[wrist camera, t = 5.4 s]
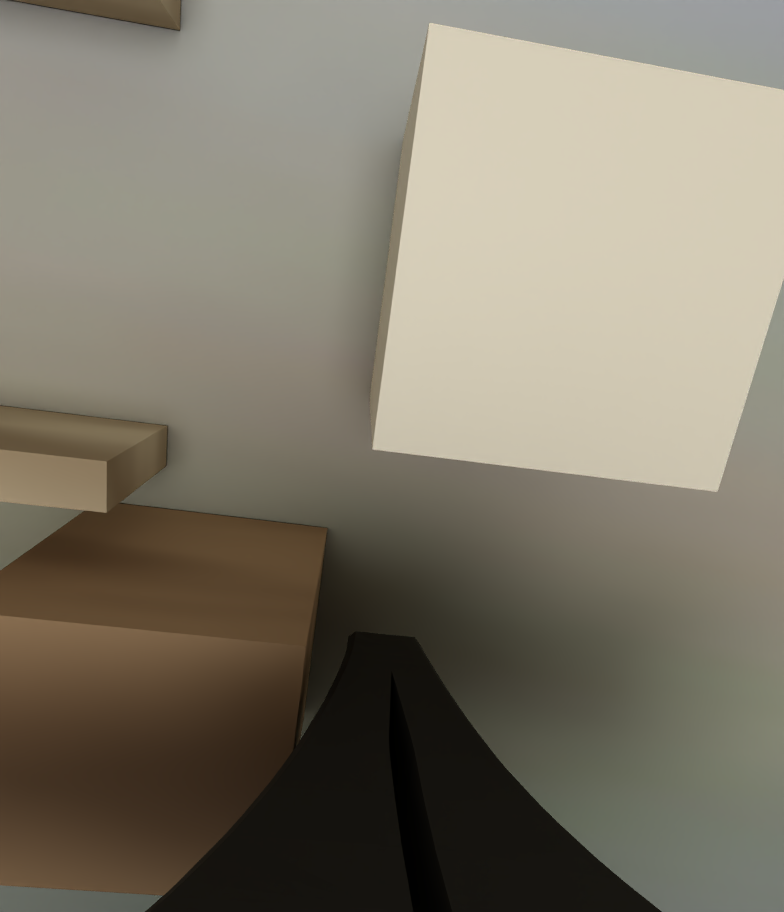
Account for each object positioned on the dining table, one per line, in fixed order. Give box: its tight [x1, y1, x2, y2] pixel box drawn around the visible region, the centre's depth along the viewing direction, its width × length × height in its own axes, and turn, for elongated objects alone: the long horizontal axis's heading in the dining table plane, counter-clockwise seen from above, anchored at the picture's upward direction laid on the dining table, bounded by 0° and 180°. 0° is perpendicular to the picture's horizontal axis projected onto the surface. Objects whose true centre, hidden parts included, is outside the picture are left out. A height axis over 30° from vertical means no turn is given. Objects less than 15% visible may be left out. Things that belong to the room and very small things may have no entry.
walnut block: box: [0, 503, 327, 895], centre depth 9 cm, size 4×4×4 cm
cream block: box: [370, 23, 784, 492], centre depth 8 cm, size 4×4×4 cm
